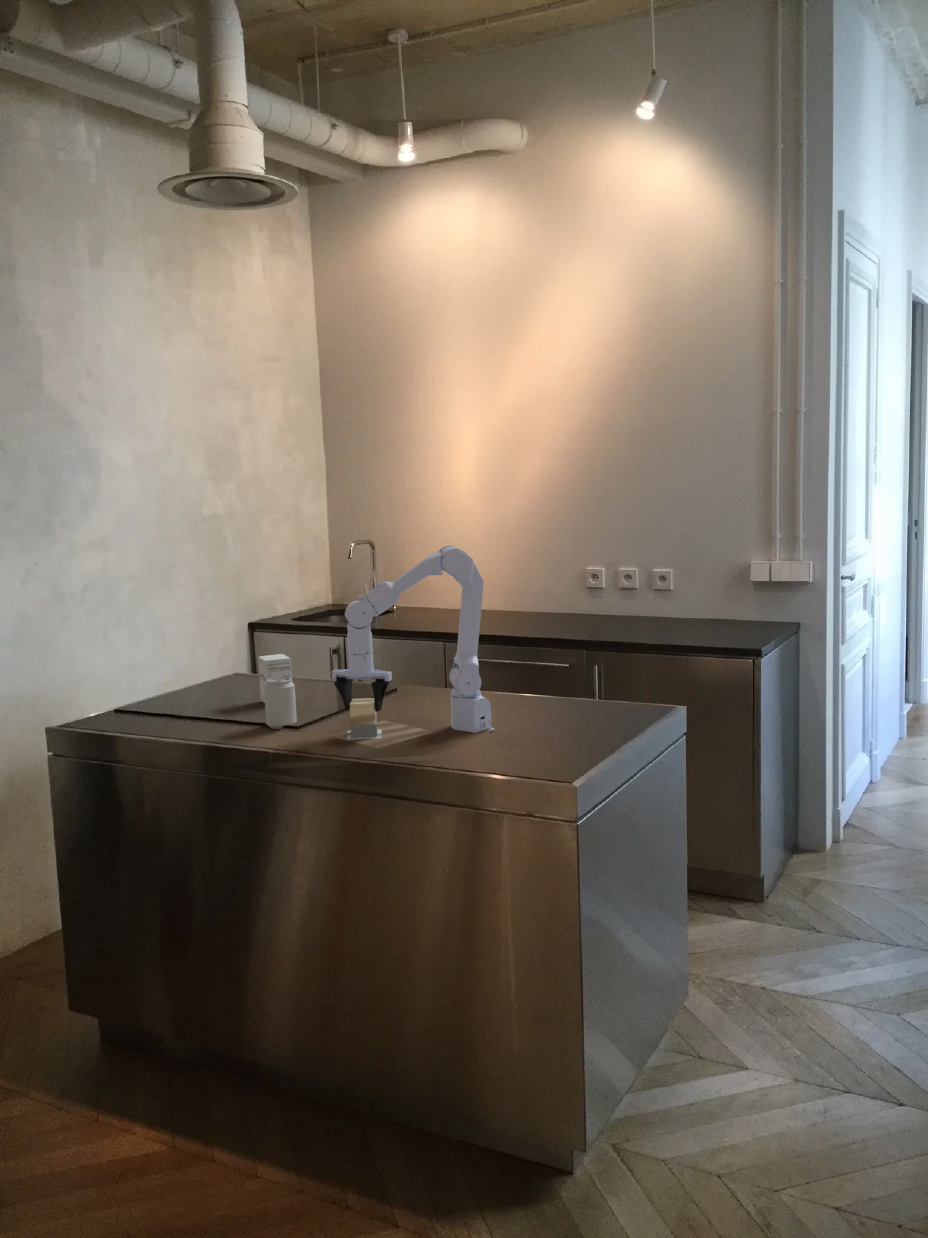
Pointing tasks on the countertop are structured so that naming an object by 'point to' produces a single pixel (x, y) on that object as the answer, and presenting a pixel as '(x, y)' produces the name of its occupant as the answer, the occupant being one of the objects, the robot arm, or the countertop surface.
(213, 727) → the countertop surface
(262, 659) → the supplement box
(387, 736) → the board
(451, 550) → the robot arm
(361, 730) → the grey base block
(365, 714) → the maple cube
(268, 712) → the can
